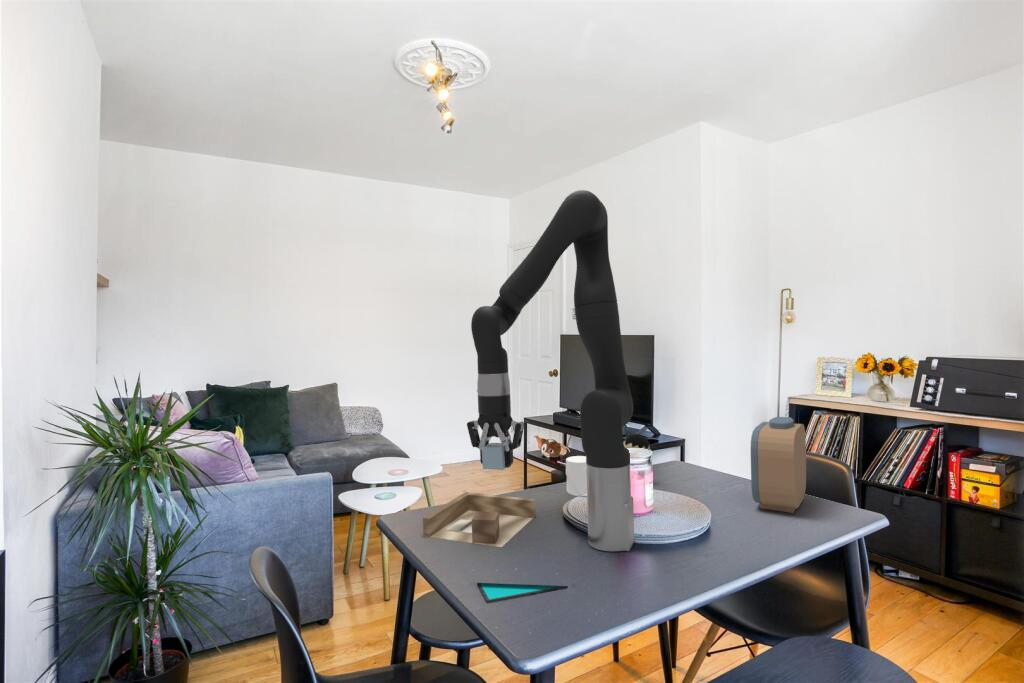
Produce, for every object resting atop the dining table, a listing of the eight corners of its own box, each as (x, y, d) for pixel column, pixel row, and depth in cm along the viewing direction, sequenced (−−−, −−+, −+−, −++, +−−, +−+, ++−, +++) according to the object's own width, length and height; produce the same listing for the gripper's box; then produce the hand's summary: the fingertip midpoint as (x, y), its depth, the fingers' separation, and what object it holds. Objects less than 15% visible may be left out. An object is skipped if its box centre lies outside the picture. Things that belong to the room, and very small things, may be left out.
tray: (535, 520, 128) (535, 499, 128) (501, 552, 110) (501, 527, 110) (466, 512, 136) (465, 492, 136) (423, 541, 117) (422, 517, 117)
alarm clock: (767, 490, 146) (765, 412, 146) (806, 496, 141) (804, 415, 140) (751, 512, 130) (749, 424, 129) (795, 519, 124) (792, 427, 124)
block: (511, 464, 124) (510, 442, 124) (502, 469, 119) (501, 447, 119) (492, 463, 126) (490, 442, 126) (482, 469, 121) (481, 446, 121)
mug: (559, 457, 153) (582, 454, 156) (559, 490, 153) (582, 485, 156) (582, 466, 142) (607, 462, 146) (583, 501, 142) (607, 496, 146)
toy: (650, 481, 158) (649, 431, 158) (654, 488, 151) (652, 436, 151) (621, 481, 159) (620, 432, 159) (623, 488, 152) (622, 436, 152)
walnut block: (499, 534, 117) (498, 512, 117) (495, 543, 112) (494, 520, 112) (477, 534, 117) (476, 511, 117) (472, 543, 112) (471, 519, 112)
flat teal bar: (476, 581, 96) (553, 568, 101) (476, 586, 96) (553, 572, 101) (486, 601, 89) (568, 585, 94) (487, 606, 89) (568, 590, 94)
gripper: (528, 391, 123) (531, 464, 123) (473, 391, 128) (476, 460, 129) (516, 394, 116) (519, 472, 116) (458, 394, 122) (461, 468, 122)
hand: (496, 465), depth 122 cm, fingers closed on block, 5 cm apart
